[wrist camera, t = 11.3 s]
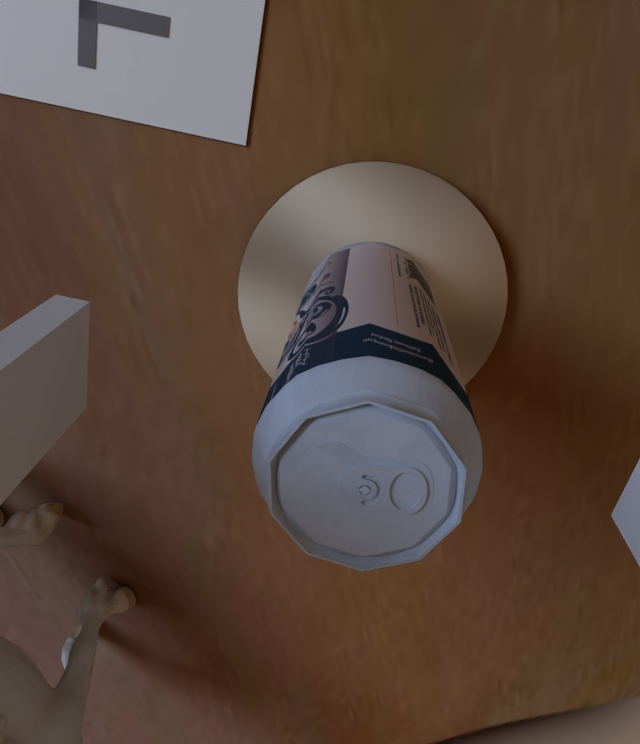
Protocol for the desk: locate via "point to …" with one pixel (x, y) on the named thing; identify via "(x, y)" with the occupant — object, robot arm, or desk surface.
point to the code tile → (137, 60)
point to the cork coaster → (375, 224)
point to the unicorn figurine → (23, 678)
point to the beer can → (368, 416)
